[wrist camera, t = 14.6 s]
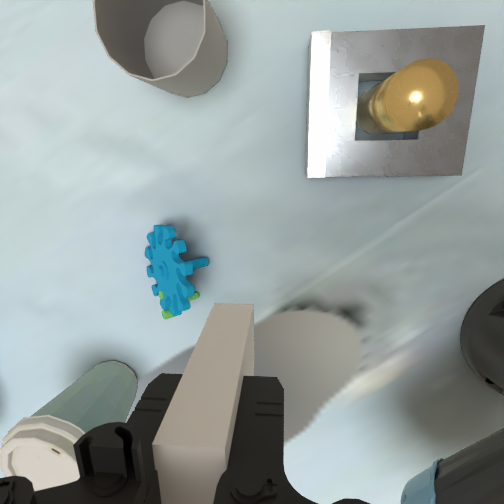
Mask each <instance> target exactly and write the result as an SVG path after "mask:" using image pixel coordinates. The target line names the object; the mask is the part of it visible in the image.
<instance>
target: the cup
mask: <svg viewBox="0 0 504 504" xmlns="http://www.w3.org/2000/svg"><path fill="white" fill-rule="evenodd" d="M93 8H94V19H95V30H96V33H97V35H98V37H99V39H100V41H101V43H102V45H103V47H104V49H105V51H106V53H107V55H108V57H109V58H110V59H111V60H112V61H113V62H115V63H116V64H117V65H118V66H119V67H120V68H121V69H123V70H124V71H125V72H126V73H127V74H128V75H130V76H133V77H135V78H137V79H140V80H142V81H144V82H146V83H149V84H151V85H153V86H156V87H158V88H160V89H162V90H165V91H167V92H169V93H172V94H176V95H180V96H183V97H187V98H188V97H192V96H197V95H201V94H205V93H206V92H207V91H208V90H210V89H211V88H212V87H213V86H214V85H215V84H217V83H218V82H219V80H220V78H221V76H222V74H223V71H224V69H225V67H226V64H227V39H226V36H225V34H224V31H223V29H222V27H221V24H220V22H219V20H218V18H217V16H216V14H215V12H214V10H213V9H212V7H211V5H210V3H209V1H208V0H93Z"/></svg>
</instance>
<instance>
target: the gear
mask: <svg viewBox="0 0 504 504" xmlns="http://www.w3.org/2000/svg"><path fill="white" fill-rule="evenodd" d="M175 237H176V231H175V229H174V228H173V226H165V225H154V232H152V233H148V235H147V239H148V242H149V243H150V246H151V247H146V249H145V256H146V258H148V259H149V260H150V262H151V264H152V266H147V275H148V277H154V278H155V279H156V281H157V284H155V285H152V290H153V294H154V296H157V295H159V297H160V299H161V300H160V305H161V307H162V308H163V311H162V316H163V318H164V319H168V318H171V317H175V316H177V315H180V314H182V311H184V310H187V309H189V308H191V307H190V303H189V300H193V299H196V298H199V294H198V292H195V293H194V291H195V288H194V286H193V284H191V283H190V282H189V281H188V280H187V278H186V276H187V275H191V274H193V269H195V268H200V267H204V266H208V263H209V262H208V259H207V258H206V257H204V258H200V259H195V260H190V261H185V262H184V261H183V260H181V259H180V257H179V253H184V252H186V251H187V249H186V245H185V242H184V240H177V241H174V243H173V246H172V239H173V238H175Z"/></svg>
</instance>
